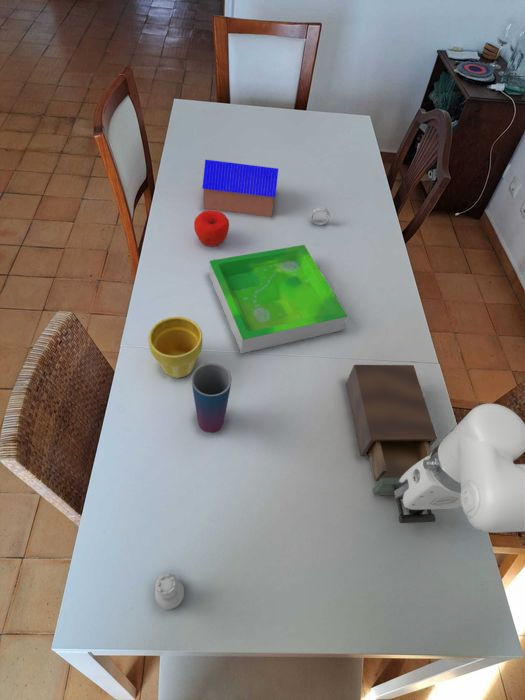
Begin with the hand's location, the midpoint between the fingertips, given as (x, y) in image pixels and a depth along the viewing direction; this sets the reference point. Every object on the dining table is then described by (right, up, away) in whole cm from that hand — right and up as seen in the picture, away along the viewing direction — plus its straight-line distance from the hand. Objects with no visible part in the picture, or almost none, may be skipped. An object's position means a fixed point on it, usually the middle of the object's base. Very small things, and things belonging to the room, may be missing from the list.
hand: (411, 506), depth 79 cm
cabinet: (-2, +14, +14) cm, 19 cm away
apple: (-40, +56, +41) cm, 80 cm away
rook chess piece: (-41, -10, -9) cm, 43 cm away
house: (-33, +71, +53) cm, 95 cm away
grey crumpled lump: (-10, +64, +51) cm, 82 cm away
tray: (-23, +39, +30) cm, 55 cm away
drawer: (-1, +5, +6) cm, 8 cm away
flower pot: (-44, +24, +17) cm, 53 cm away
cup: (-36, +13, +10) cm, 40 cm away
